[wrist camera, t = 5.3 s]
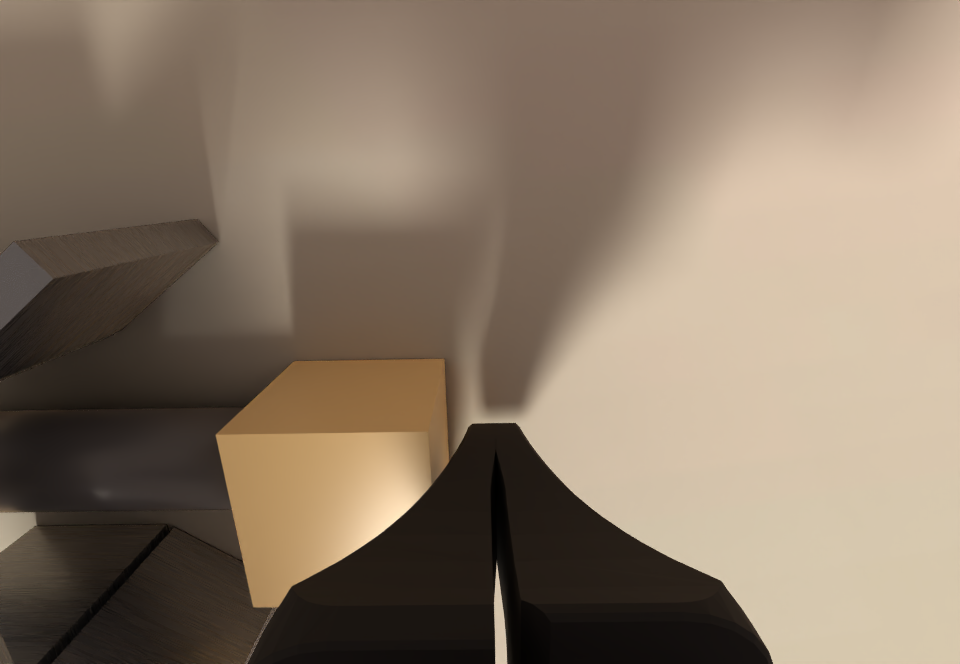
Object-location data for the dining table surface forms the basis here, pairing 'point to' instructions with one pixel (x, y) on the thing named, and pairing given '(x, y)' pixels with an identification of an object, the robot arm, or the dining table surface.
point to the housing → (109, 548)
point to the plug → (250, 462)
